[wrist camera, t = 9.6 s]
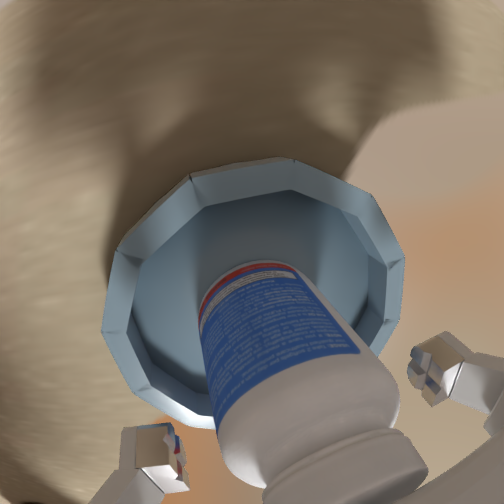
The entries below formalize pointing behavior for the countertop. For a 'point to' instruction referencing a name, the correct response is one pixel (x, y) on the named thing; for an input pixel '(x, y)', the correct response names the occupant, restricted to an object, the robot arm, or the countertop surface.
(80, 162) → the countertop surface
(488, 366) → the robot arm
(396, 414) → the pill bottle
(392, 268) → the dish
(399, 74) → the countertop surface
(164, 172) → the countertop surface
